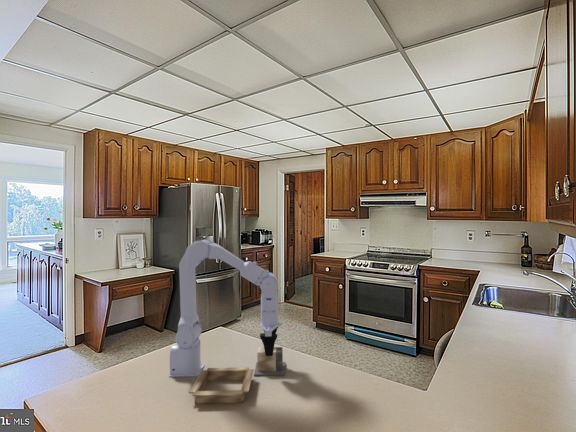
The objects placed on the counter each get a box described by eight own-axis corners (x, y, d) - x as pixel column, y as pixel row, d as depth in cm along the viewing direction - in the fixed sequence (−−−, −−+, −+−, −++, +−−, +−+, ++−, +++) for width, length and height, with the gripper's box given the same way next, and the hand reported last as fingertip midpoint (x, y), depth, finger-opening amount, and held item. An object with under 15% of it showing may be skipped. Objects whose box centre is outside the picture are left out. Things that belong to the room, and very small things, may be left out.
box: (257, 371, 105) (257, 352, 105) (259, 365, 109) (259, 347, 109) (282, 371, 104) (281, 352, 105) (282, 364, 109) (282, 347, 109)
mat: (253, 376, 102) (253, 374, 102) (256, 363, 111) (256, 362, 111) (285, 375, 102) (285, 373, 102) (285, 363, 111) (285, 361, 111)
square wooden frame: (187, 406, 86) (187, 395, 86) (203, 377, 102) (203, 368, 102) (247, 405, 86) (247, 394, 86) (254, 376, 102) (254, 367, 102)
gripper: (280, 316, 100) (281, 359, 100) (281, 304, 115) (282, 342, 114) (258, 316, 100) (258, 360, 100) (262, 304, 115) (262, 342, 114)
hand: (269, 350), depth 107 cm, fingers open, 7 cm apart
